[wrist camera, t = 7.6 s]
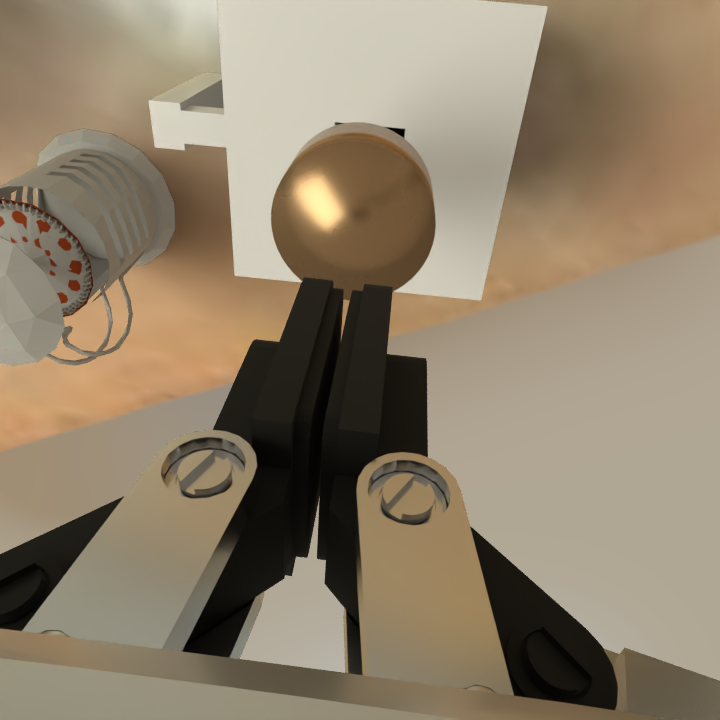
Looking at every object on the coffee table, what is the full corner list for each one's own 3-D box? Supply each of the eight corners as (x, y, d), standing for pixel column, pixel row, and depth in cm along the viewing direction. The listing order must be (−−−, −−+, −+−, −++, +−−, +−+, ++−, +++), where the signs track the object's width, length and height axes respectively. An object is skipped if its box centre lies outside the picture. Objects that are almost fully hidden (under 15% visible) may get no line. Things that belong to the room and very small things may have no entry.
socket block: (497, -7, 30) (547, 6, 19) (459, 203, 37) (480, 300, 26) (210, -33, 30) (99, -35, 19) (224, 180, 37) (148, 267, 26)
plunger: (429, 62, 30) (448, 150, 15) (417, 157, 33) (423, 307, 18) (337, 54, 30) (269, 132, 15) (333, 149, 33) (272, 292, 18)
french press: (116, 102, 35) (-307, 290, 14) (216, 260, 40) (19, 556, 20) (3, 165, 37) (-485, 398, 17) (112, 304, 43) (-154, 603, 23)
